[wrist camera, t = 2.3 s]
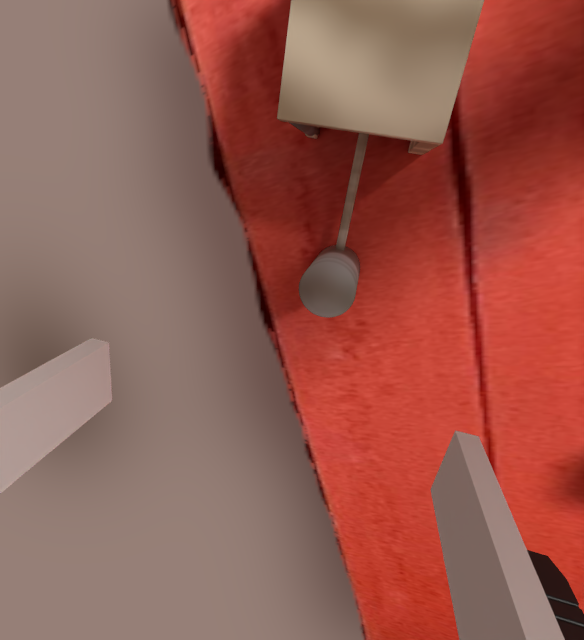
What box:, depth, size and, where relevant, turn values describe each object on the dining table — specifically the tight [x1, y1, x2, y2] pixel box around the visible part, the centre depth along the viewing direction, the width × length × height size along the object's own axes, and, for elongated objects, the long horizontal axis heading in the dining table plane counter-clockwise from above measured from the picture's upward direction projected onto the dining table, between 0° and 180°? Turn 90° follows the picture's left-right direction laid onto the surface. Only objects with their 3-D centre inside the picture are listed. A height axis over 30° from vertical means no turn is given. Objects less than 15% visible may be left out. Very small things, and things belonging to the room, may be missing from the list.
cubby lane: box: [277, 0, 484, 155], centre depth 23 cm, size 12×10×10 cm
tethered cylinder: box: [299, 133, 369, 317], centre depth 27 cm, size 23×5×8 cm, turn 171°
